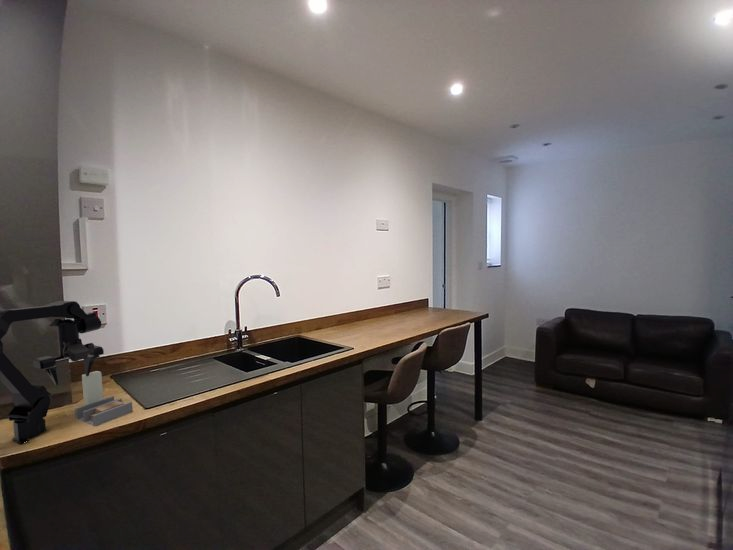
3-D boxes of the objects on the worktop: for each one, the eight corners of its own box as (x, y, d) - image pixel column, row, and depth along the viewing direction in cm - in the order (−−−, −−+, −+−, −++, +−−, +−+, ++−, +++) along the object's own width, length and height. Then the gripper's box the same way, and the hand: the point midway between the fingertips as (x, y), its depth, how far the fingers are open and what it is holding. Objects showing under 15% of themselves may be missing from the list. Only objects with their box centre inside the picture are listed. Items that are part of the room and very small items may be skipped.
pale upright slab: (88, 410, 134) (85, 376, 133) (84, 409, 136) (81, 374, 135) (103, 405, 139) (101, 371, 138) (99, 404, 140) (96, 370, 139)
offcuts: (97, 423, 123) (96, 412, 123) (90, 420, 125) (89, 410, 125) (125, 412, 131) (125, 402, 131) (118, 409, 133) (118, 400, 133)
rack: (95, 428, 121) (94, 416, 121) (76, 420, 127) (75, 408, 127) (132, 413, 132) (131, 402, 131) (113, 406, 138) (112, 395, 137)
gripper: (46, 346, 116) (50, 393, 117) (110, 333, 132) (113, 375, 134) (30, 342, 121) (34, 388, 122) (93, 330, 138) (97, 370, 139)
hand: (72, 380), depth 129 cm, fingers open, 9 cm apart
